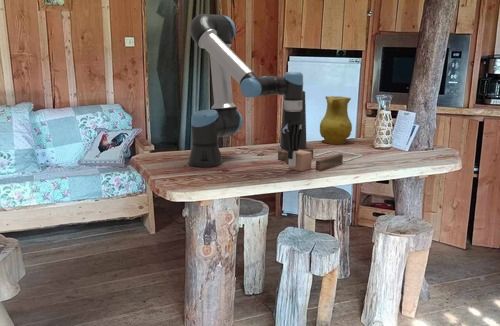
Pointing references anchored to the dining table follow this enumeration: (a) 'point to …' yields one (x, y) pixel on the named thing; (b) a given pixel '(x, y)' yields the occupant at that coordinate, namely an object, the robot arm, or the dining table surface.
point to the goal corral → (341, 152)
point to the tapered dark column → (303, 123)
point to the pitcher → (336, 121)
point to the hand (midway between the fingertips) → (292, 165)
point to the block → (302, 160)
